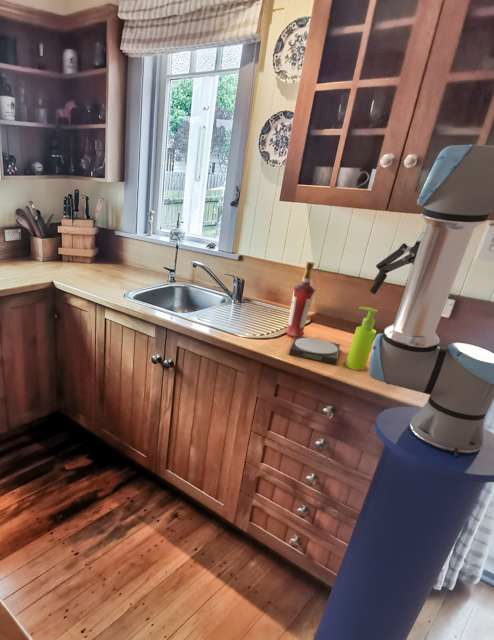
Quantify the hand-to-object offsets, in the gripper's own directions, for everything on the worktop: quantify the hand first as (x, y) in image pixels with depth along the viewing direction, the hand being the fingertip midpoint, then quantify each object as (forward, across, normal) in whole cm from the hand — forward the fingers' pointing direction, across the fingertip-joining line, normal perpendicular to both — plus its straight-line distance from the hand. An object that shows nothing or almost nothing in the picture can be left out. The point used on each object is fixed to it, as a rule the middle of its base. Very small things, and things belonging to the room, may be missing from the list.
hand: (392, 301), depth 141 cm
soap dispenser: (+23, +2, -9) cm, 25 cm away
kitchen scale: (+25, +16, -7) cm, 30 cm away
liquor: (+24, +30, -14) cm, 41 cm away
